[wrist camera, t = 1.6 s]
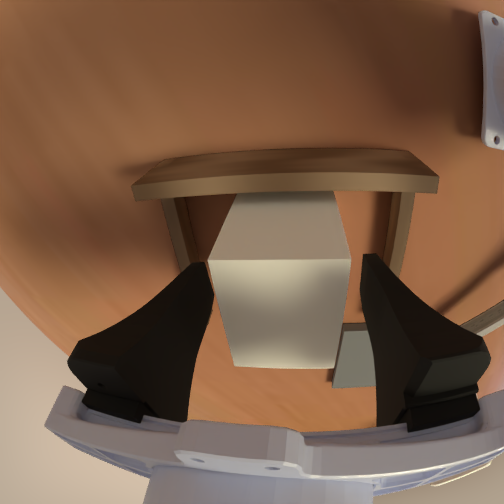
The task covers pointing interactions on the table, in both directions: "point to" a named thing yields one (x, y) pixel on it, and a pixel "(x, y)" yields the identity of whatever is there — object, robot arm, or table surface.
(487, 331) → the caliper
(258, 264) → the cream tapered prism
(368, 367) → the mat
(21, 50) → the table surface
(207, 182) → the frame
